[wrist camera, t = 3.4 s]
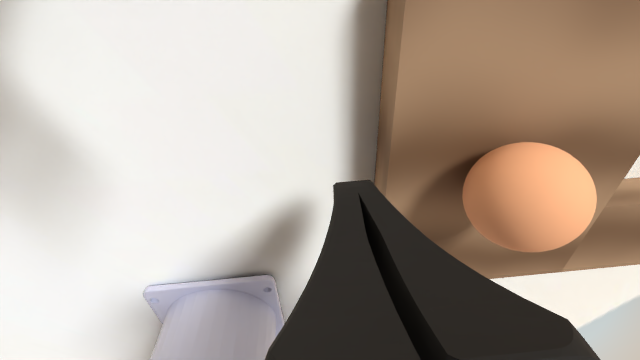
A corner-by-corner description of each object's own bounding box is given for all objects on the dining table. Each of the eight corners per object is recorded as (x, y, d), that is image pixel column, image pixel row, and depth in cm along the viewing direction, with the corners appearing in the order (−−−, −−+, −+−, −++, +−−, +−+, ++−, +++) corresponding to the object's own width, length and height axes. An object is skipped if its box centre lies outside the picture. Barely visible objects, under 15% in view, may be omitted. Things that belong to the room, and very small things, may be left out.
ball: (522, 199, 14) (593, 270, 10) (437, 207, 14) (483, 281, 10) (557, 119, 11) (663, 179, 8) (456, 127, 11) (523, 191, 8)
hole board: (671, 233, 19) (706, 257, 18) (368, 262, 19) (376, 290, 17) (974, -101, 10) (1107, -115, 8) (391, -67, 9) (413, -75, 8)
